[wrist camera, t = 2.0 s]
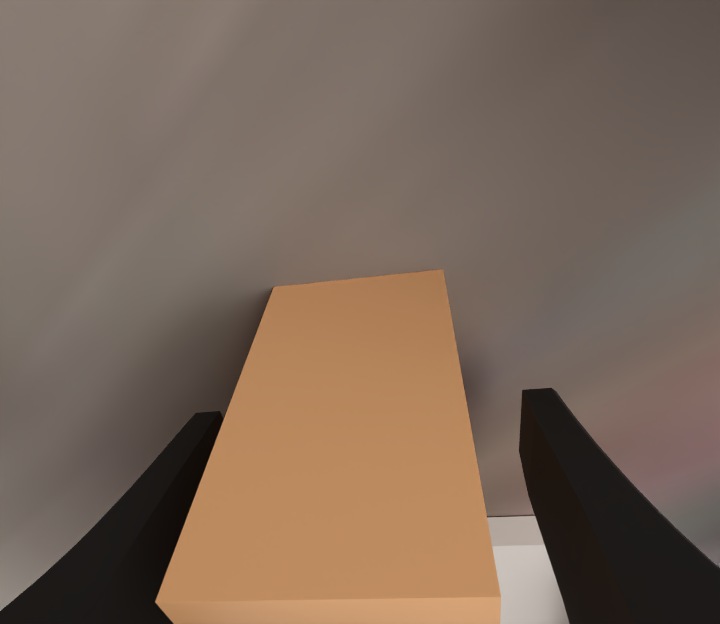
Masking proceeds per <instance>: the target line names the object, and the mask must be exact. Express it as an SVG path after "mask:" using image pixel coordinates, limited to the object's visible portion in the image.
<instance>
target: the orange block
mask: <svg viewBox="0 0 720 624" xmlns="http://www.w3.org/2000/svg"><path fill="white" fill-rule="evenodd" d="M155 603H156V604H157V605H158V606H159V607H160V608H161V610H162V611H163V612H164V613H165V614H166V615H167V617H168V618H169V619H170V620H171V621H172V622H173V623H174V624H500V615H501V594H500V588H499V582H498V577H497V571H496V565H495V560H494V554H493V549H492V543H491V537H490V532H489V526H488V520H487V515H486V509H485V503H484V498H483V492H482V486H481V481H480V475H479V470H478V464H477V458H476V453H475V447H474V441H473V436H472V430H471V424H470V419H469V413H468V407H467V402H466V396H465V391H464V385H463V379H462V374H461V368H460V362H459V357H458V351H457V345H456V340H455V334H454V329H453V323H452V317H451V312H450V306H449V300H448V295H447V289H446V283H445V278H444V272H443V269H440V270H431V271H421V272H412V273H402V274H393V275H383V276H374V277H364V278H355V279H345V280H336V281H326V282H317V283H307V284H298V285H288V286H279V287H274V288H273V290H272V293H271V296H270V298H269V301H268V304H267V306H266V309H265V311H264V314H263V317H262V319H261V322H260V325H259V327H258V330H257V333H256V335H255V338H254V341H253V343H252V346H251V349H250V351H249V354H248V357H247V359H246V362H245V365H244V367H243V370H242V373H241V375H240V378H239V381H238V383H237V386H236V388H235V391H234V394H233V396H232V399H231V402H230V404H229V407H228V410H227V412H226V415H225V418H224V420H223V423H222V426H221V428H220V431H219V434H218V436H217V439H216V442H215V444H214V447H213V450H212V452H211V455H210V458H209V460H208V463H207V465H206V468H205V471H204V473H203V476H202V479H201V481H200V484H199V487H198V489H197V492H196V495H195V497H194V500H193V503H192V505H191V508H190V511H189V513H188V516H187V519H186V521H185V524H184V527H183V529H182V532H181V535H180V537H179V540H178V542H177V545H176V548H175V550H174V553H173V556H172V558H171V561H170V564H169V566H168V569H167V572H166V574H165V577H164V580H163V582H162V585H161V588H160V590H159V593H158V596H157V598H156V601H155Z"/></svg>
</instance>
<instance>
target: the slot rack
mask: <svg viewBox="0 0 720 624" xmlns="http://www.w3.org/2000/svg"><path fill="white" fill-rule="evenodd" d="M659 512H660V511H659ZM660 513H661V512H660ZM487 520H488V526H489V532H490V537H491V543H492V549H493V554H494V560H495V565H496V571H497V577H498V582H499V588H500V594H501V615H500V624H569V620H568V617H567V613H566V610H565V606H564V603H563V599H562V596H561V593H560V590H559V587H558V584H557V581H556V578H555V575H554V572H553V569H552V566H551V563H550V560H549V557H548V554H547V551H546V548H545V544H544V541H543V538H542V535H541V532H540V529H539V526H538V523H537V520H536V517H535V516H517V517H489V518H487Z"/></svg>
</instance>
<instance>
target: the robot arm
mask: <svg viewBox="0 0 720 624" xmlns="http://www.w3.org/2000/svg"><path fill="white" fill-rule="evenodd" d="M223 420H224V419H223V417H222V415H221V413H220V411H218V412H203V413H196V414H195V415H194V416H193V417H192V418H191V419H190V420H189V421H188V422H187V424H186V425H185V426H184V427H183V428H182V429H181V431H180V432H179V433H178V434H177V435H176V436H175V437H174V439H173V440H172V441H171V442H170V443H169V444H168V446H167V447H166V448H165V449H164V450H163V451H162V453H161V454H160V455H159V456H158V457H157V458H156V460H155V461H154V462H153V463H152V464H151V465H150V466H149V467H148V469H147V470H146V471H145V472H144V473H143V474H142V475H141V477H140V478H139V479H138V480H137V481H136V482H135V483H134V484H133V486H132V487H131V488H130V489H129V490H128V491H127V492H126V493H125V494H124V495H123V496H122V497H121V499H120V500H119V501H118V502H117V503H116V504H115V505H114V506H113V507H112V508H111V509H110V510H109V511H108V512H107V513H106V514H105V515H104V516H103V517H102V518H101V520H100V521H99V522H98V523H97V524H96V525H95V526H94V527H93V528H92V529H91V530H90V531H89V532H88V533H87V534H86V535H85V536H84V537H83V538H82V539H81V540H80V541H79V542H78V543H77V544H76V545H75V546H74V547H73V548H72V549H71V550H70V551H69V552H67V553H66V554H65V555H64V556H63V557H62V558H61V559H60V560H59V561H58V562H57V563H56V564H54V565H53V566H52V567H51V568H50V569H49V570H48V571H47V572H46V573H45V574H44V575H42V576H41V577H40V578H39V579H38V580H37V581H36V582H35V583H33V584H32V585H31V586H30V587H29V588H27V589H26V590H25V591H24V592H23V593H21V594H20V595H19V596H18V597H17V598H15V599H14V600H13V601H12V602H11V603H10V604H8V605H7V606H6V607H5V608H4V609H2V610H1V611H0V624H174V623H173V622H172V621H171V620H170V619H169V618H168V617H167V615H166V614H165V613H164V612H163V611H162V610H161V608H160V607H159V606H158V605H157V604H156V603H155V601H156V598H157V596H158V593H159V590H160V588H161V585H162V582H163V580H164V577H165V574H166V572H167V569H168V566H169V564H170V561H171V558H172V556H173V553H174V550H175V548H176V545H177V542H178V540H179V537H180V535H181V532H182V529H183V527H184V524H185V521H186V519H187V516H188V513H189V511H190V508H191V505H192V503H193V500H194V497H195V495H196V492H197V489H198V487H199V484H200V481H201V479H202V476H203V473H204V471H205V468H206V465H207V463H208V460H209V458H210V455H211V452H212V450H213V447H214V444H215V442H216V439H217V436H218V434H219V431H220V428H221V426H222V423H223ZM519 453H520V458H521V462H522V467H523V472H524V477H525V481H526V486H527V491H528V495H529V498H530V501H531V505H532V508H533V511H534V514H535V517H536V520H537V523H538V526H539V529H540V532H541V535H542V538H543V541H544V544H545V548H546V551H547V554H548V557H549V560H550V563H551V566H552V569H553V572H554V575H555V578H556V581H557V584H558V587H559V590H560V593H561V596H562V599H563V603H564V606H565V610H566V613H567V617H568V620H569V624H720V568H719V567H718V566H717V565H715V564H714V563H713V562H712V561H711V560H710V559H709V558H708V557H707V556H705V555H704V554H703V553H702V552H701V551H700V550H699V549H698V548H697V547H696V546H695V545H693V544H692V543H691V542H690V541H689V540H688V539H687V538H686V537H685V536H684V535H683V534H682V533H681V532H680V531H679V530H677V529H676V528H675V527H674V526H673V525H672V524H671V523H670V522H669V521H668V520H667V519H666V518H665V517H664V516H663V515H662V514H661V513H660V512H659V511H658V510H657V509H656V508H655V507H654V506H653V505H652V504H651V503H650V502H649V501H648V500H647V499H646V498H645V497H644V495H643V494H642V493H641V492H640V491H639V490H638V489H637V488H636V487H635V486H634V485H633V484H632V483H631V482H630V481H629V480H628V478H627V477H626V476H625V475H624V474H623V473H622V472H621V471H620V470H619V468H618V467H617V466H616V465H615V464H614V463H613V462H612V461H611V459H610V458H609V457H608V456H607V455H606V454H605V453H604V452H603V450H602V449H601V448H600V447H599V446H598V444H597V443H596V442H595V441H594V440H593V439H592V437H591V436H590V435H589V434H588V432H587V431H586V430H585V429H584V428H583V426H582V425H581V424H580V423H579V421H578V420H577V419H576V417H575V416H574V415H573V414H572V412H571V411H570V410H569V408H568V407H567V406H566V404H565V403H564V402H563V400H562V399H561V398H560V396H559V395H558V393H557V392H556V391H555V390H553V389H552V388H544V389H530V390H522V407H521V424H520V442H519Z"/></svg>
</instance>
